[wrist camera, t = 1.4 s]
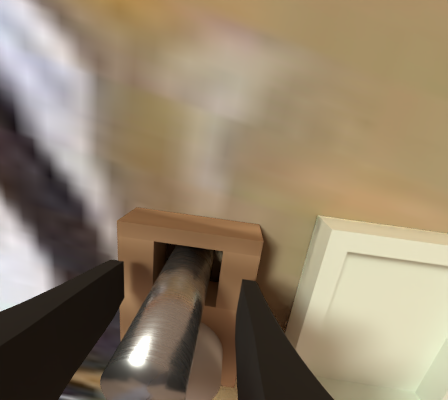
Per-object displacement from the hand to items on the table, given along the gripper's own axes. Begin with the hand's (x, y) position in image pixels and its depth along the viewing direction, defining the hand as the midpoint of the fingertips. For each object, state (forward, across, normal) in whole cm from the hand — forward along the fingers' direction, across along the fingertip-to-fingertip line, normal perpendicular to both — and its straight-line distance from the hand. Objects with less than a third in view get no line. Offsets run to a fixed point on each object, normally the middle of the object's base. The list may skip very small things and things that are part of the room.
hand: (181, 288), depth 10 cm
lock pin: (+3, 0, 0) cm, 3 cm away
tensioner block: (+3, 0, +2) cm, 4 cm away
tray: (+3, -12, +2) cm, 12 cm away
